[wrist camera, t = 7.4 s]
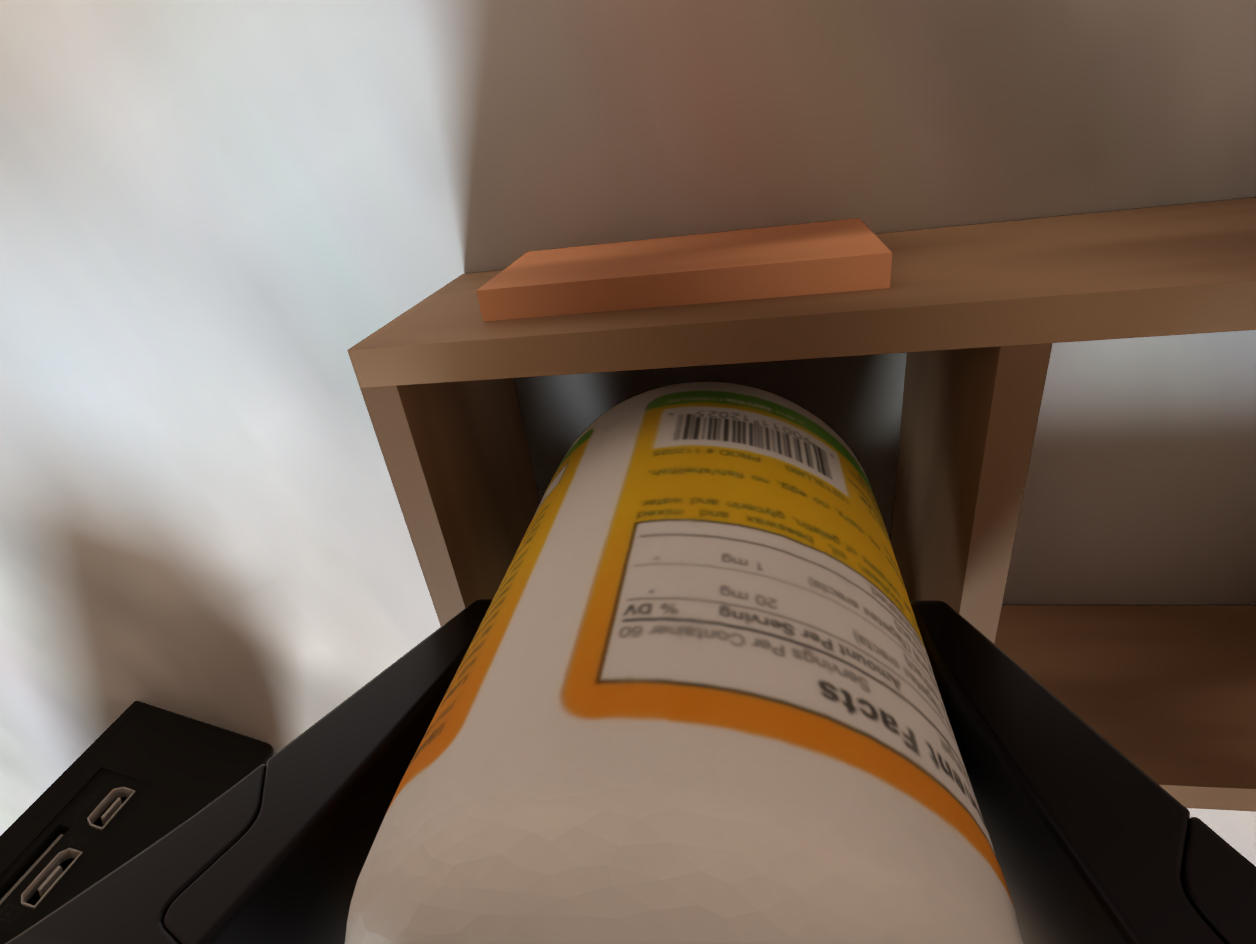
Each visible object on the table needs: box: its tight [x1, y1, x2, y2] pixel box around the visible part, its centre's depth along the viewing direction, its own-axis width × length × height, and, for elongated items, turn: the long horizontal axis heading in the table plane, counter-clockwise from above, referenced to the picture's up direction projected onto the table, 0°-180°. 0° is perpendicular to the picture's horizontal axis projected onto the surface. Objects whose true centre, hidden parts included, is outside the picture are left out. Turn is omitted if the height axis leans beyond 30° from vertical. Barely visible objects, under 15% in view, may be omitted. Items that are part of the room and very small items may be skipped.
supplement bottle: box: [345, 382, 1023, 944], centre depth 7 cm, size 5×5×10 cm
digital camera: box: [0, 701, 273, 944], centre depth 19 cm, size 10×5×7 cm, turn 163°
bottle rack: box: [348, 197, 1256, 811], centre depth 10 cm, size 23×8×4 cm, turn 97°
